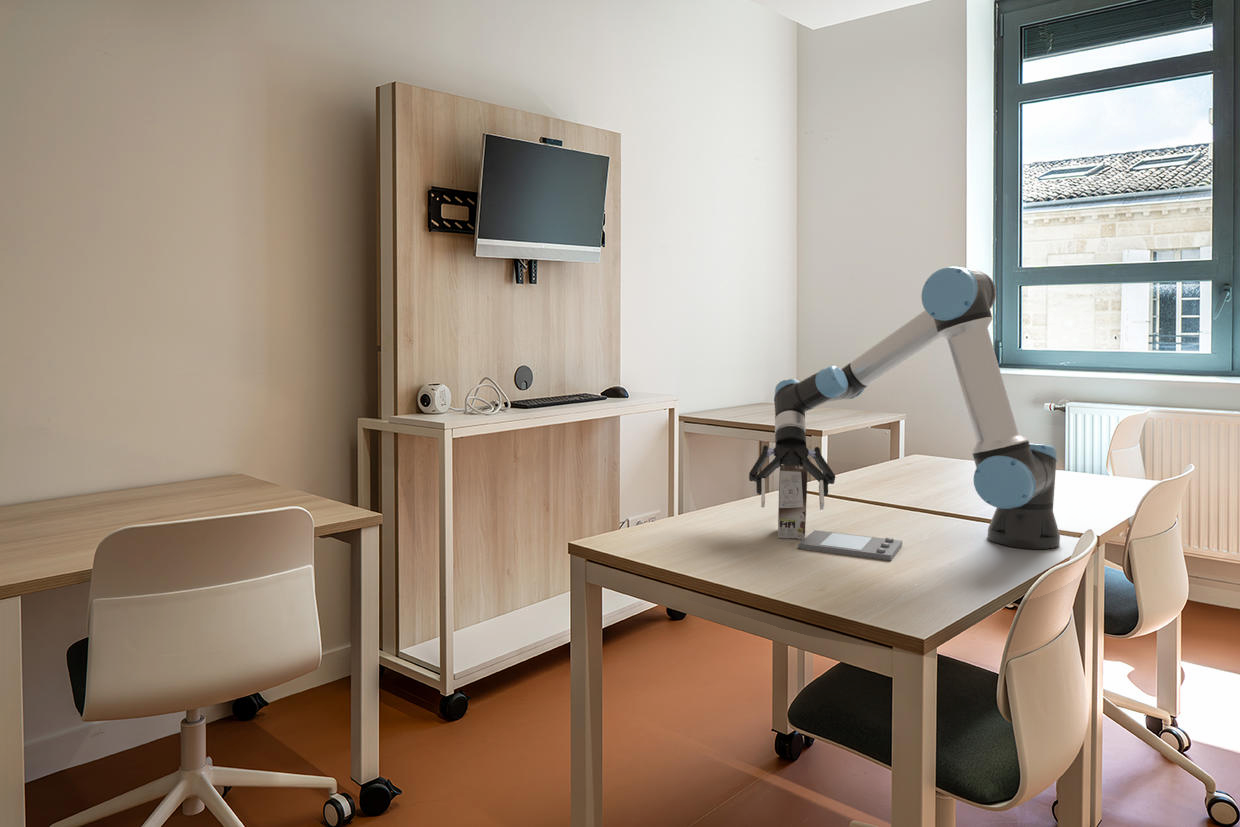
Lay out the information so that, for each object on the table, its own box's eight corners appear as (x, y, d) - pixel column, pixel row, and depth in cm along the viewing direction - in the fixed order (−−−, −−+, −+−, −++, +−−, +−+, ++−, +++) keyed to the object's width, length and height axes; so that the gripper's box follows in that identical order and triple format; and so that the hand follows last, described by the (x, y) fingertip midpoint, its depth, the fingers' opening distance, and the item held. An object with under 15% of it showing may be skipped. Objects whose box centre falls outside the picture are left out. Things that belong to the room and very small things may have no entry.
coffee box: (805, 540, 198) (807, 471, 196) (777, 538, 200) (779, 470, 198) (805, 530, 207) (807, 464, 205) (778, 529, 208) (780, 463, 207)
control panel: (902, 545, 194) (902, 538, 193) (890, 560, 181) (891, 552, 181) (814, 535, 203) (814, 527, 203) (798, 548, 190) (798, 540, 190)
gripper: (839, 443, 215) (845, 516, 202) (739, 441, 218) (738, 511, 205) (843, 425, 209) (849, 498, 196) (740, 423, 213) (739, 494, 199)
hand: (792, 505), depth 201 cm, fingers open, 13 cm apart
